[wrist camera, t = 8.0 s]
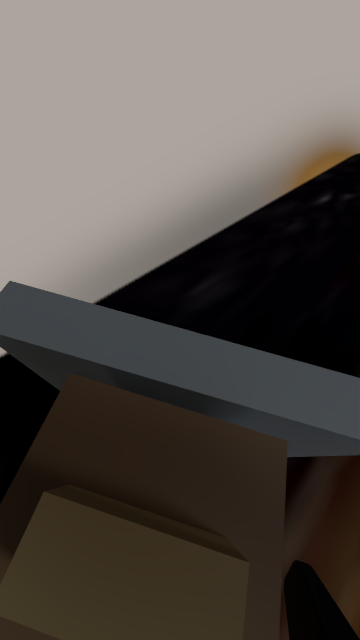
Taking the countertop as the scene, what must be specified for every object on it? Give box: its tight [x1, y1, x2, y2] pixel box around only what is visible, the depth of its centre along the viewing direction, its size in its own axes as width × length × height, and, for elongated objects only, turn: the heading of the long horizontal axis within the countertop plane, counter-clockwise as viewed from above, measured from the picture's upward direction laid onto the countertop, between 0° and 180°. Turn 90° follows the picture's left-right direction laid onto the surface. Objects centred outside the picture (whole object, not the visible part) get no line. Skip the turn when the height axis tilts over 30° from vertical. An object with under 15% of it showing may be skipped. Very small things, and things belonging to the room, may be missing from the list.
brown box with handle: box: [0, 373, 288, 640], centre depth 9 cm, size 5×5×13 cm
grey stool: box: [0, 281, 360, 457], centre depth 10 cm, size 10×14×10 cm
